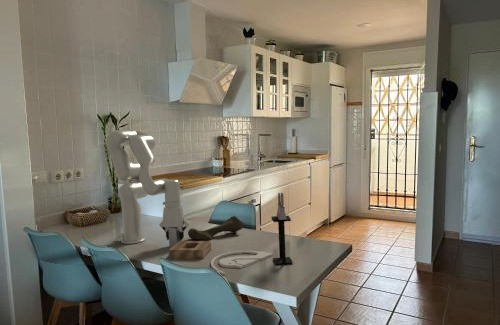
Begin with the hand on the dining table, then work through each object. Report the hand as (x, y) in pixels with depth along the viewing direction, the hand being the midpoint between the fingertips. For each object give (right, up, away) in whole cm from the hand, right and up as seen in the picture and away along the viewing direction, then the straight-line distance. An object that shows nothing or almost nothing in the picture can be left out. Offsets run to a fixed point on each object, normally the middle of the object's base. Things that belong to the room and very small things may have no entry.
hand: (175, 239), depth 199 cm
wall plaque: (+31, -5, -26) cm, 41 cm away
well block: (+10, -4, -13) cm, 17 cm away
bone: (+20, -2, +15) cm, 25 cm away
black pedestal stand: (+52, -4, -30) cm, 60 cm away
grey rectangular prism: (0, -4, 0) cm, 4 cm away
